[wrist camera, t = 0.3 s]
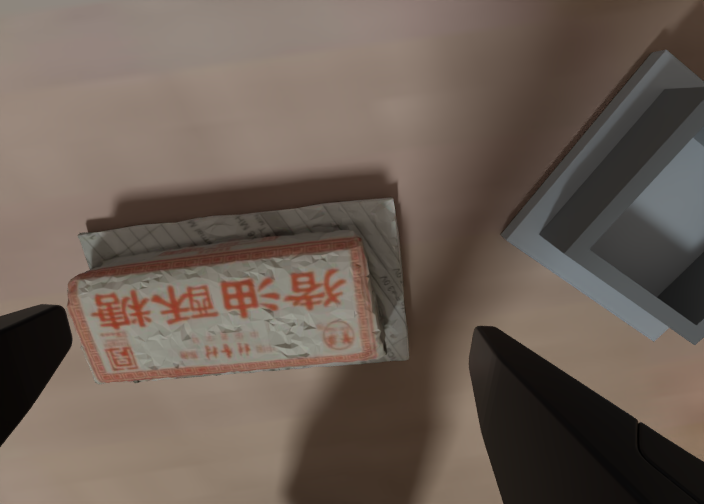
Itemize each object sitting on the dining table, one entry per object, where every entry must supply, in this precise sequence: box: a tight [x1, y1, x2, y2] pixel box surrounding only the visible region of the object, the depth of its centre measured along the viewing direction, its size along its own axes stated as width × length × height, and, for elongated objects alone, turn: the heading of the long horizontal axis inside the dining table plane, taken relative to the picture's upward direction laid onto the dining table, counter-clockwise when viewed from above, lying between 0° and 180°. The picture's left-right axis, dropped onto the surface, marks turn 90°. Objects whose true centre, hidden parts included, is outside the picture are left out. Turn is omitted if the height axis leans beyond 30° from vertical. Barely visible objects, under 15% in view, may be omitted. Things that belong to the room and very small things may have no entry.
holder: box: [501, 50, 704, 345], centre depth 20 cm, size 11×11×4 cm
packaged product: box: [66, 197, 409, 384], centre depth 23 cm, size 18×5×10 cm
